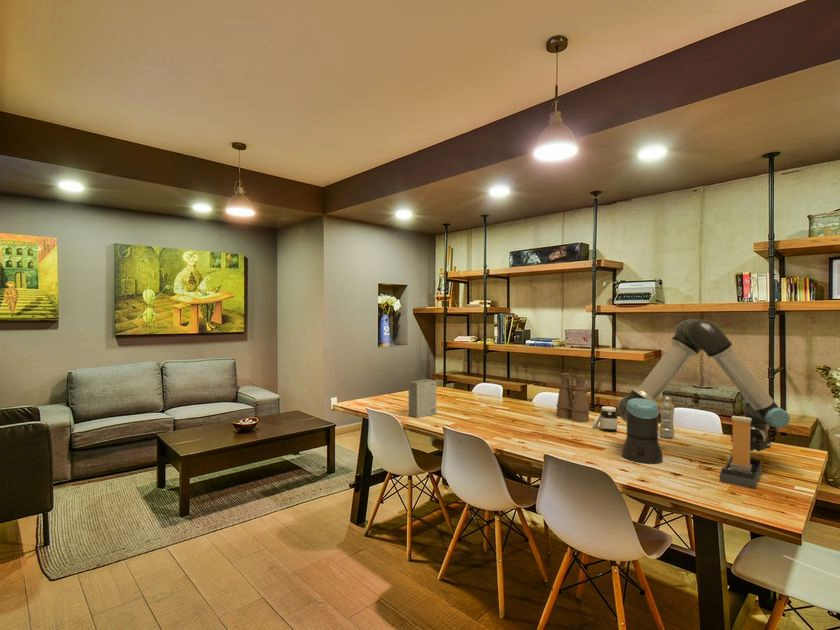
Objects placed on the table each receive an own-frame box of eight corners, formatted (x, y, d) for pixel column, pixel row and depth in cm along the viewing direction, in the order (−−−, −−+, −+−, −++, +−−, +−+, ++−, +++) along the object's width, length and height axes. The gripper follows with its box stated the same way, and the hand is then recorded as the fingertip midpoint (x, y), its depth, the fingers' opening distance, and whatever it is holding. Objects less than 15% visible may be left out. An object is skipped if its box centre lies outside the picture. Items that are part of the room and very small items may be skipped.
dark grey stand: (754, 488, 155) (754, 475, 155) (719, 481, 161) (719, 468, 161) (761, 472, 171) (761, 460, 171) (729, 466, 178) (730, 454, 178)
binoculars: (552, 416, 266) (552, 373, 266) (564, 414, 271) (564, 372, 271) (581, 423, 248) (582, 377, 248) (593, 421, 253) (594, 376, 254)
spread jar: (619, 433, 228) (619, 409, 228) (595, 431, 230) (595, 408, 230) (613, 427, 240) (613, 405, 240) (590, 426, 242) (590, 404, 242)
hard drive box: (428, 412, 272) (428, 378, 272) (436, 414, 266) (437, 380, 266) (407, 415, 262) (408, 381, 262) (416, 418, 256) (416, 382, 256)
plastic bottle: (657, 437, 220) (657, 396, 220) (661, 435, 225) (662, 394, 225) (671, 440, 216) (672, 398, 216) (676, 437, 220) (676, 396, 220)
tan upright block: (750, 472, 162) (750, 420, 162) (730, 468, 166) (730, 417, 166) (752, 468, 165) (752, 417, 165) (732, 465, 169) (732, 415, 169)
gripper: (773, 450, 179) (767, 464, 162) (733, 443, 188) (723, 456, 170) (773, 431, 179) (767, 443, 162) (733, 425, 188) (723, 436, 170)
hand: (745, 450), depth 166 cm, fingers closed
